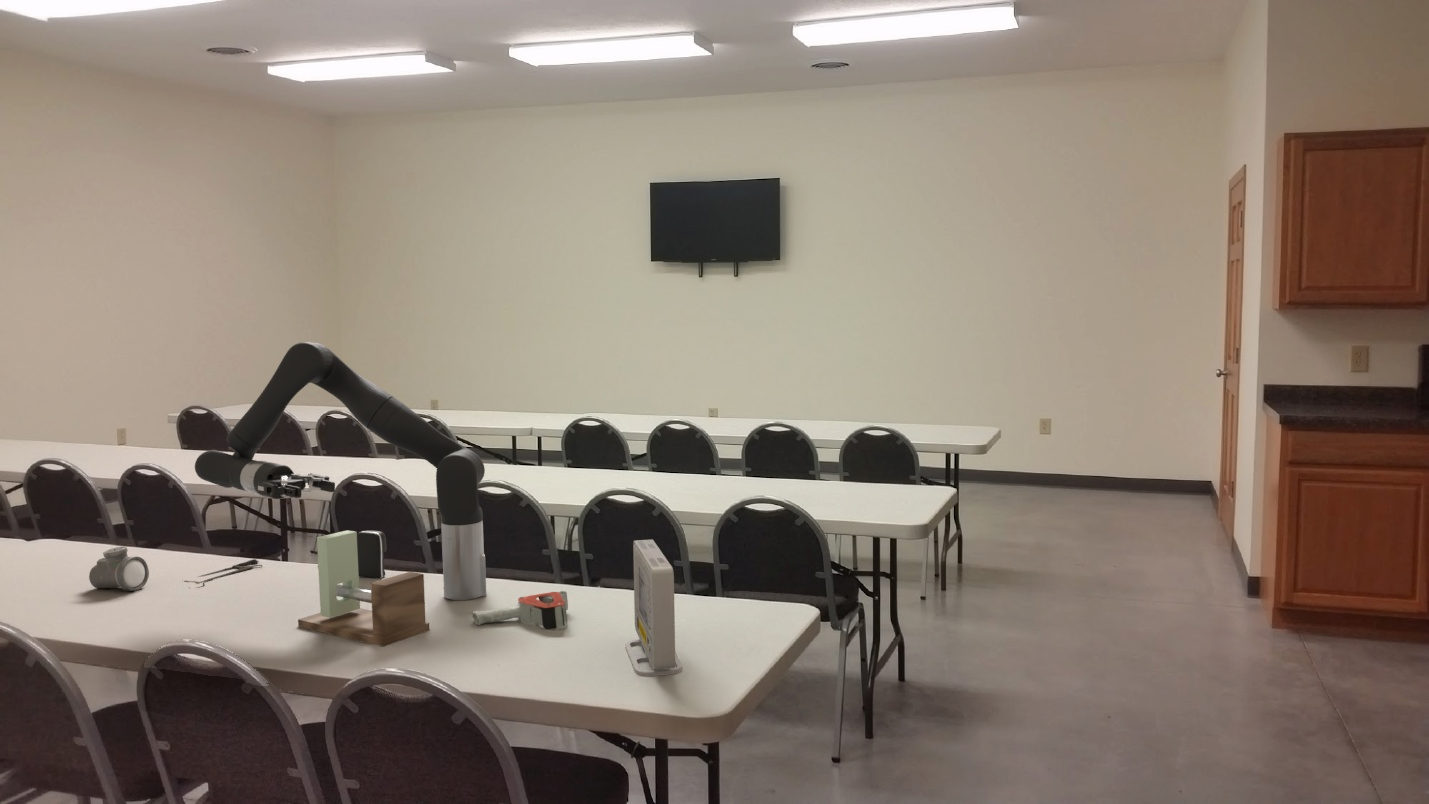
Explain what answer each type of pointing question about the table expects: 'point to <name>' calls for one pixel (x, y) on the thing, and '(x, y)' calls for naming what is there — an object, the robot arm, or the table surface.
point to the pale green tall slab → (337, 571)
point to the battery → (371, 554)
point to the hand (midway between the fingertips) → (317, 490)
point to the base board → (380, 613)
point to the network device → (653, 611)
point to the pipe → (353, 593)
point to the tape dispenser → (532, 611)
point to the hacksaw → (240, 566)
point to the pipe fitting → (119, 571)
